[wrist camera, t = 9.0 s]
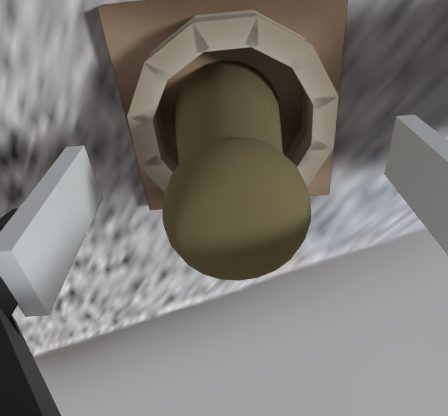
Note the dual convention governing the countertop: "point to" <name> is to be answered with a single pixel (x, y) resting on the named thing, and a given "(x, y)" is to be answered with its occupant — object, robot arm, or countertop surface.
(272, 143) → the olive knobbed peg
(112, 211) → the countertop surface
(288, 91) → the collar base
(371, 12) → the countertop surface
